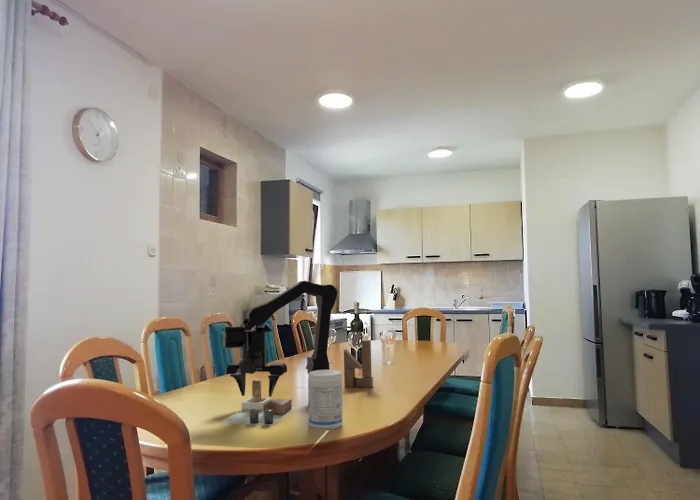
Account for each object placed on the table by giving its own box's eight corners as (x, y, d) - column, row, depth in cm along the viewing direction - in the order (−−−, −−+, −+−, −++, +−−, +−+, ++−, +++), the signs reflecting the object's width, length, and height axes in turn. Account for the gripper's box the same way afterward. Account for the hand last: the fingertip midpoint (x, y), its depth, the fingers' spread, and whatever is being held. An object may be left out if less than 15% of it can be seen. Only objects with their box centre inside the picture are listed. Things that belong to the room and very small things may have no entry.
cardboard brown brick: (291, 408, 149) (291, 399, 149) (282, 415, 141) (282, 405, 141) (273, 408, 150) (273, 398, 150) (263, 414, 142) (263, 404, 143)
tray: (271, 405, 153) (271, 397, 154) (262, 411, 147) (262, 403, 147) (251, 405, 155) (251, 397, 155) (241, 410, 148) (241, 402, 148)
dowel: (262, 405, 152) (262, 379, 153) (259, 407, 149) (259, 381, 150) (254, 405, 153) (254, 379, 153) (250, 407, 150) (250, 381, 151)
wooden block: (346, 385, 189) (345, 339, 190) (373, 386, 186) (372, 339, 188) (344, 387, 185) (343, 340, 187) (371, 388, 183) (370, 340, 184)
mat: (297, 409, 151) (297, 406, 151) (272, 427, 131) (272, 424, 131) (251, 407, 155) (251, 405, 155) (219, 425, 134) (219, 422, 135)
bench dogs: (274, 422, 134) (274, 409, 134) (271, 424, 132) (271, 411, 132) (252, 421, 135) (252, 408, 136) (248, 423, 133) (248, 410, 133)
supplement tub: (309, 421, 137) (309, 369, 138) (342, 420, 137) (341, 368, 138) (307, 431, 127) (306, 375, 128) (343, 430, 127) (341, 374, 128)
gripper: (217, 349, 147) (217, 401, 145) (274, 349, 143) (274, 403, 141) (234, 345, 158) (234, 393, 156) (287, 345, 153) (287, 394, 152)
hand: (256, 396), depth 151 cm, fingers open, 9 cm apart
